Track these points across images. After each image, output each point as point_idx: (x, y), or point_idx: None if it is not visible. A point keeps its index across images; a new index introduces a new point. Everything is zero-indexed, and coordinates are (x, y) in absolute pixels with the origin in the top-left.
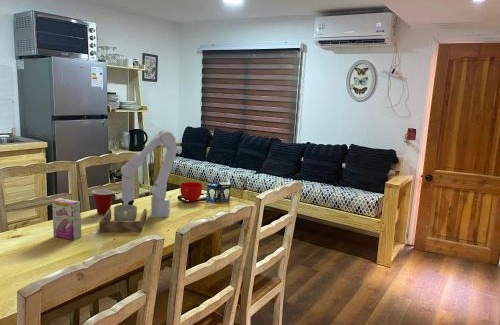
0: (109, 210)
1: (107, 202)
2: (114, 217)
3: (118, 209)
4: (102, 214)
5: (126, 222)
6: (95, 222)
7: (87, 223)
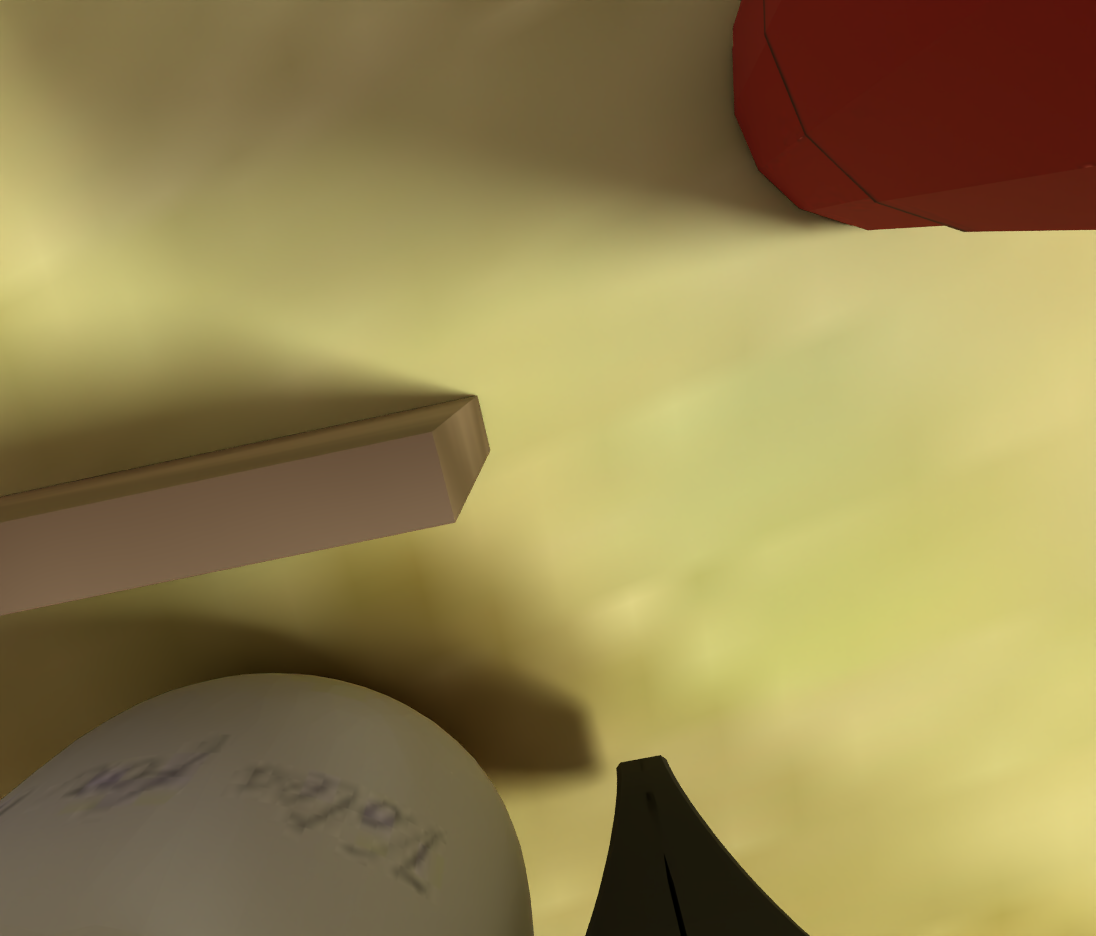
0: (283, 532)
1: (1023, 120)
2: (48, 761)
3: (308, 871)
4: (734, 97)
5: None
6: (154, 190)
7: (19, 13)
